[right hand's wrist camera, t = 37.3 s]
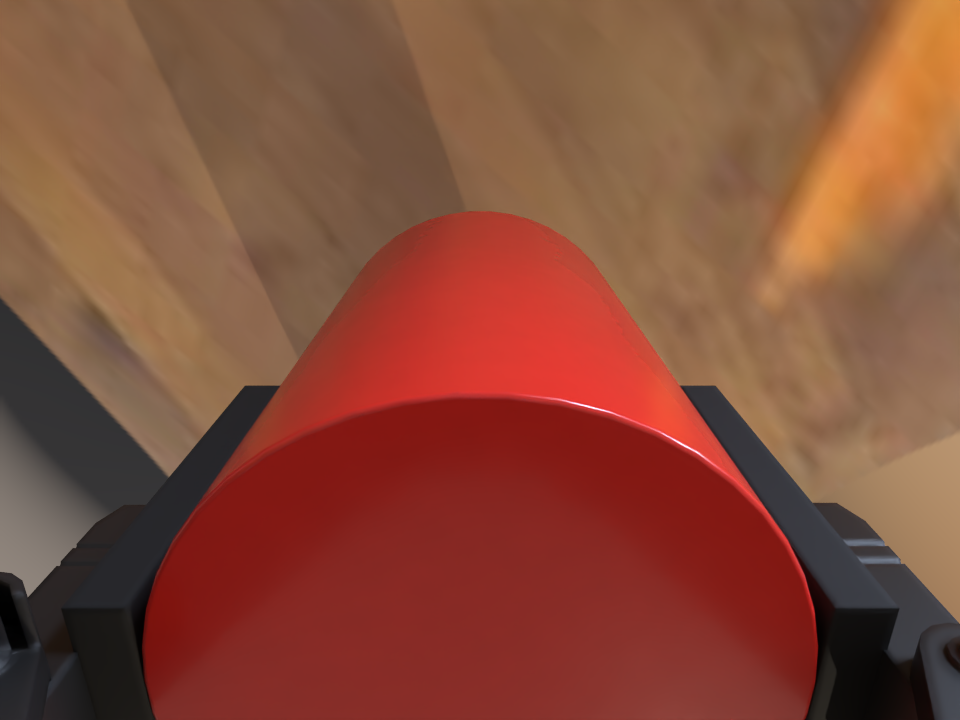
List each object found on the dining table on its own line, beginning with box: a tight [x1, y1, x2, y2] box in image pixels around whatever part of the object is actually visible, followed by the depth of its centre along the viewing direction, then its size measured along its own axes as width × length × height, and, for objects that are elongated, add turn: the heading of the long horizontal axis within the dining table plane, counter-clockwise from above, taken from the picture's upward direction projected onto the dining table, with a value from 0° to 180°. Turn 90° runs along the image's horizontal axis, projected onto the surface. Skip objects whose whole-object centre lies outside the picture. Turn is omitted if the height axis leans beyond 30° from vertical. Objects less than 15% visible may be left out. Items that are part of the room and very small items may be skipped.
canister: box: [142, 211, 818, 720], centre depth 14 cm, size 8×8×12 cm
